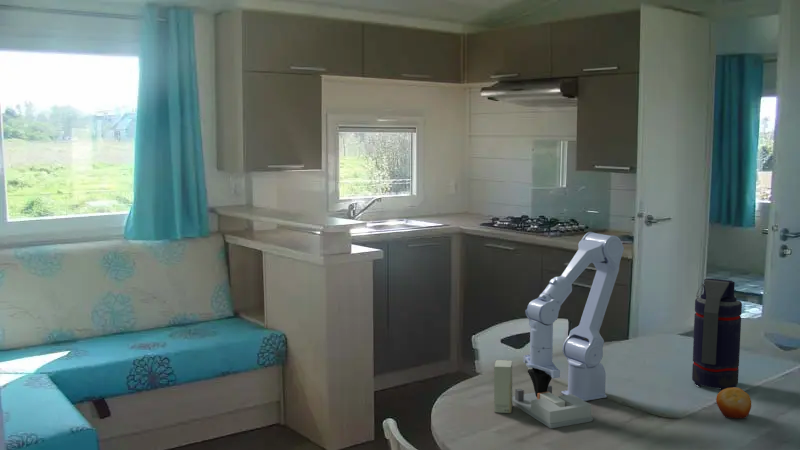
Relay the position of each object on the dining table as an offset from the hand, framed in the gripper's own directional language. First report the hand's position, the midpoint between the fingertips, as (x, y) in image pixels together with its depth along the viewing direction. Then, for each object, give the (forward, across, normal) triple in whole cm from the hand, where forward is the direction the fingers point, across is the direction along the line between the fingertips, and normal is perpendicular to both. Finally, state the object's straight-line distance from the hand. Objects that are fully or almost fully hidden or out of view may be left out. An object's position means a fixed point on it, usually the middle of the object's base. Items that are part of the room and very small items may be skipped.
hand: (540, 396), depth 204 cm
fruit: (+3, +25, +40) cm, 47 cm away
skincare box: (+3, -2, -10) cm, 10 cm away
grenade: (+3, +6, +52) cm, 52 cm away
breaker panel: (+2, +3, 0) cm, 4 cm away
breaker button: (+1, +5, 0) cm, 5 cm away
